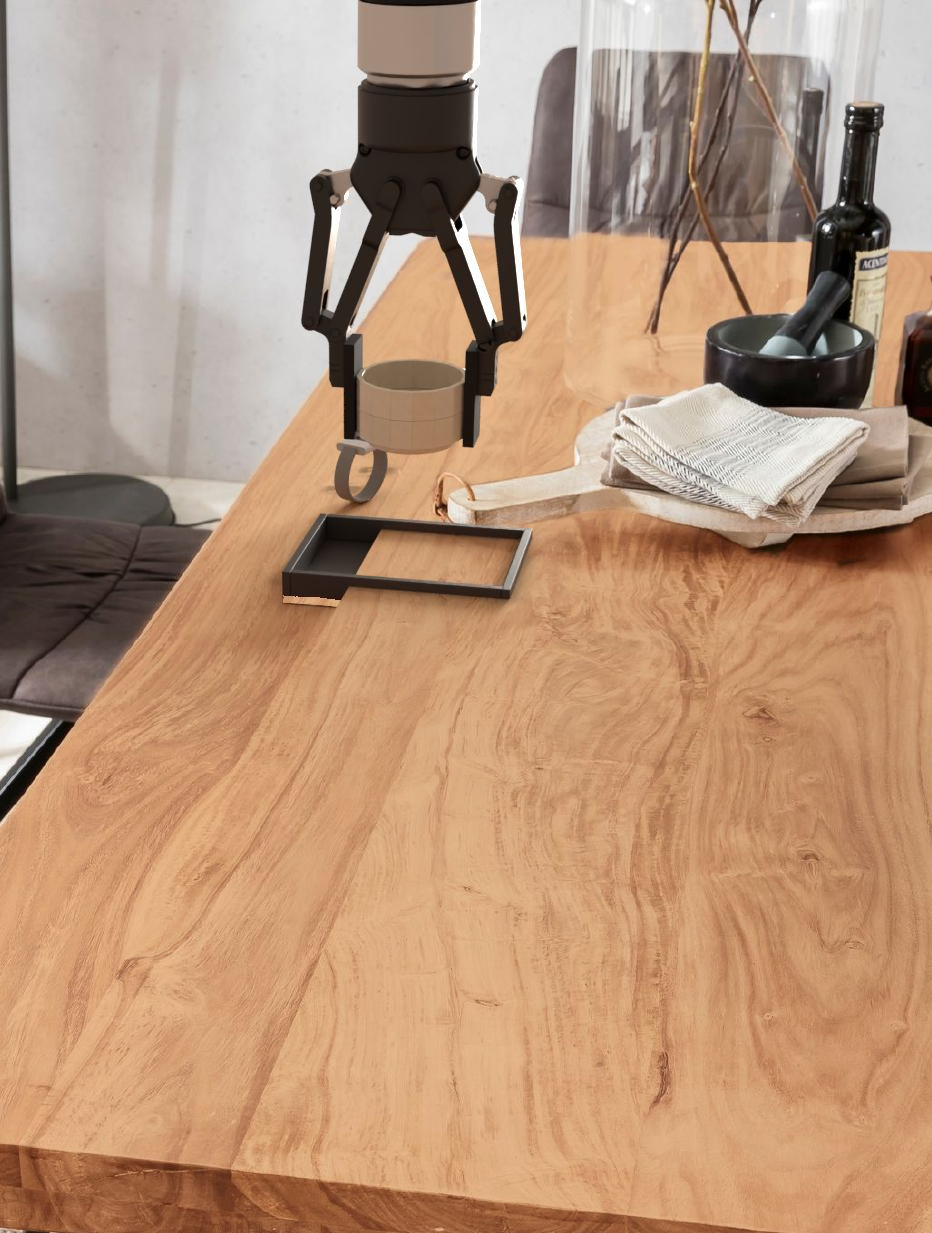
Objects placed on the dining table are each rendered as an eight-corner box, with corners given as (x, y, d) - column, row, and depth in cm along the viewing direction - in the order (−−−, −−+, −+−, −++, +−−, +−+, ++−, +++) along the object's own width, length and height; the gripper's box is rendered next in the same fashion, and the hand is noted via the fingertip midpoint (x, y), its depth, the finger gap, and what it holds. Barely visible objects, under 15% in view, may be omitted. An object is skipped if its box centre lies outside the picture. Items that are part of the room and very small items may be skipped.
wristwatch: (355, 515, 137) (355, 453, 134) (326, 508, 138) (325, 447, 135) (396, 492, 141) (396, 431, 138) (367, 485, 142) (367, 426, 140)
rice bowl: (474, 426, 122) (476, 362, 120) (456, 462, 116) (458, 395, 114) (369, 419, 124) (369, 356, 121) (346, 454, 118) (346, 388, 115)
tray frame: (531, 559, 129) (533, 528, 128) (508, 622, 119) (510, 590, 118) (320, 543, 132) (320, 513, 131) (282, 603, 123) (281, 571, 121)
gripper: (589, 71, 108) (565, 429, 121) (274, 64, 112) (282, 411, 125) (575, 90, 102) (552, 465, 115) (243, 82, 106) (255, 445, 119)
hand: (411, 436), depth 120 cm, fingers closed on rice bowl, 8 cm apart
